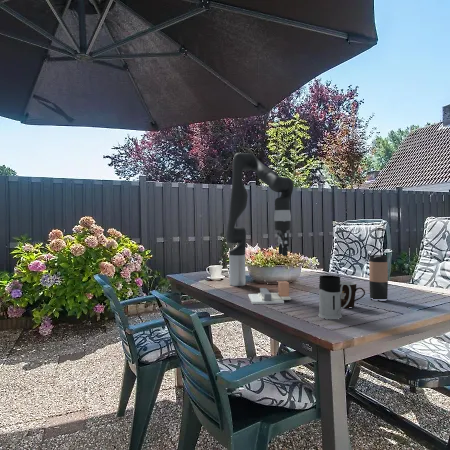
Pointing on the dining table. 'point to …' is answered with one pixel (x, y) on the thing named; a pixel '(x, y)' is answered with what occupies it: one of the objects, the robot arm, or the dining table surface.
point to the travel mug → (378, 276)
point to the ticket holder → (265, 297)
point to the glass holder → (331, 297)
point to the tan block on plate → (283, 290)
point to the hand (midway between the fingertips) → (283, 255)
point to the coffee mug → (346, 293)
